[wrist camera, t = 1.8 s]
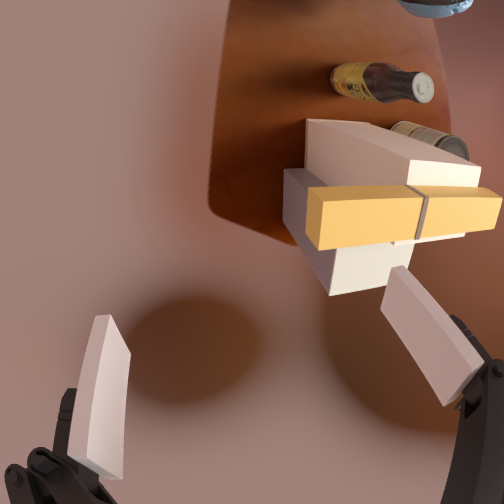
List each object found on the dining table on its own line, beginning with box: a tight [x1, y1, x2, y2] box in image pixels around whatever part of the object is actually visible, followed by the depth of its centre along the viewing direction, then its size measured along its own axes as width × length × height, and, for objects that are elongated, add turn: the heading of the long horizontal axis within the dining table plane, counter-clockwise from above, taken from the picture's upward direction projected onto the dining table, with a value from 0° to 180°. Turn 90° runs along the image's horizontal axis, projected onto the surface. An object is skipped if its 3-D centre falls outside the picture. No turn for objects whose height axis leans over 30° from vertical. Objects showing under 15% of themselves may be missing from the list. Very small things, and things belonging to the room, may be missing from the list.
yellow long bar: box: [305, 185, 503, 251], centre depth 24 cm, size 24×4×3 cm, turn 91°
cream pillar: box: [304, 119, 481, 246], centre depth 37 cm, size 12×9×27 cm
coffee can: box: [390, 121, 469, 161], centre depth 45 cm, size 10×10×14 cm
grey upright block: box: [282, 168, 414, 296], centre depth 44 cm, size 12×10×22 cm
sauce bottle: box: [330, 62, 434, 104], centre depth 34 cm, size 6×6×20 cm
